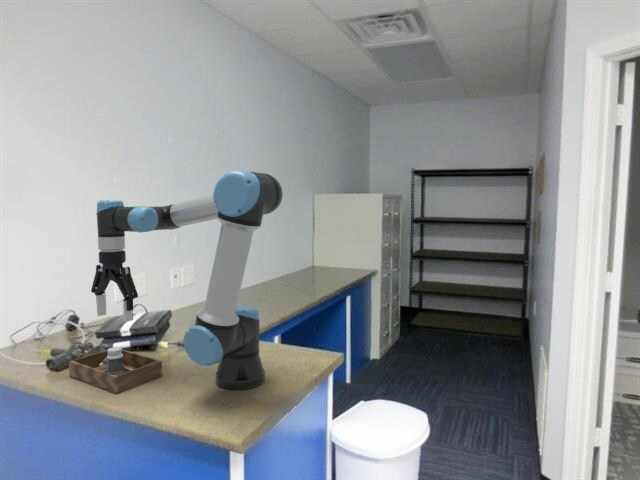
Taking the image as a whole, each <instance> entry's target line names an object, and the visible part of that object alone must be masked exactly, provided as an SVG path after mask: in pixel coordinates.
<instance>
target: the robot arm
mask: <svg viewBox="0 0 640 480" xmlns="http://www.w3.org/2000/svg"><path fill="white" fill-rule="evenodd" d="M283 194H284V193H283V187H282V186H281V183H280V182H279V180H278V179H277V178H275V176H272V175H271V174H268V173H264V172H257V171H249V170H244V169H241V170H240V169H239V170H231V171H228V172H226V173H225V174H223V175H222V176H221V177H220V178H219V179H218V180H217V181H216V183H215V186H214V188H213V194H210V195H205V196H202V197H201V196H200V197H198V198H197V197H196V198H193V199H188V200H186V201H182V202H181V201H180V202H178V203H177V202H176V203H173V204H172V203H171V204H168V205H164V206H163V205H162V206H146V205H145V206H144V205H143V206H141V205H140V206H139V205H138V206H125V205H124V201H123V200H118V199H116V200H114V199H113V200H111V199H109V200H103V199H102V200H99V201H97V204H96V220H97V221H96V223H97V247H98V251H99V252H98V263H99V264H96V265H95V274H94V278H93V282H92V286H91V290H90V292H91V293H92V294H94V295H95V301H96V315H97V317H101V316H105V315H107V297H106V296H107V295H106V290H107V288H108V286H109V284H110V282H111V281H112V282H113V283H115V284H116V285H117V287H118V288H119V291H120V293H121V295H122V296H123V299H122V306H123V307H122V309H123V313H122V315H123V323H127V322H131V321H133V320H134V299H136V298H138V297H139V294H138V292H137V289H136V285H135V283H134V280H133V277H132V273H131V267H130V266H125V267H124V266H123V265H124V264H125V262H126V260H127V257H126V251H125V250H124V249H125V248H126V241H125V240H126V237H125V236H126V234H125V233H126V232H135V233H148V232H153V231H163V230H165V231H166V230H171V231H172V230H176V229H180V228H181V227H184V226H185V227H186V226H190V225H194V224H198V223H199V224H200V223H203V222H207V221H213V220H218V221H219V222H220V224H221V226H220V230H219V235H218V239H217V245H216V249H215V254H214V259H213V263H212V268H211V275H210V280H209V283H208V288H207V294H206V298H205V301H204V306H203V307H202V308H199V309H198V311H197V313H196V318H195V322H194V325H191V326H190V327H189V328H188V329H187V330H186V331H185V333H184V336H183V341H182V342H183V343H182V344H183V348H184V351H185V353H187V356H188V357H189V360H191V361H192V362H193V363H195V364H196V365H199V366H201V367H210V366H213V365H216V364H218V366H217V370H216V372H215V384H216V385H217V386H218V387H220V388H222V389H227V390H234V389H239V390H245V389H244V388H248V389H250V388H249V387H252V388H254V387H253V386H256V385H258V386H260V385H261V384H260V383H262V382H263V381H264V382H265V380H266V371H265V369H264V367H263V363H262V360H261V356H260V320H261V319H260V312H259V310H258V309H257V308H255V307H252V306H245V305H244V306H243V305H238V302H239V298H240V293H241V289H242V284H243V279H244V275H245V270H246V267H247V262H248V257H249V254H250V248H251V244H252V240H253V235H254V231H256V230H257V229H258V228H259V229H260V227H261V226H262V223H263V222H262V221H263V218H264V217H263V216H264V215H268V214H272V213H273V212H274V211H276V210H277V209H278V208H279V207H280V205H281V203H282V200H283ZM264 379H265V380H264ZM264 382H263V383H264ZM263 383H262V384H263ZM259 384H260V385H259ZM256 387H257V386H256Z"/></svg>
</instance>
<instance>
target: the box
mask: <svg viewBox="0 0 640 480" xmlns="http://www.w3.org/2000/svg"><path fill="white" fill-rule="evenodd" d="M121 349H122V348H121ZM122 354H123V363H124V373H123V374H120V375H117V376H116V375H113V374H110V373H107V366H99V364H100V363H101V362H102V361H103V360H104V359H105V357H107V356H108V349H105V350H102V351H99V352H95V353H91V354H89V355H84V356H82V357H78V358H75V359H71V360H69V361H68V369H69V370H68V373H69V374H68V375H69V377H70V378H72V379H74V380H78V381H79V382H82V383H85V384H88V385H90V386H94V387H96V388H99V389H102V390H105V391H106V392H109V393H112V394H114V395H118V394H120V393H123V392H125V391H128V390H131V389H134V388H135V387H138V386H141V385H143V384H146V383H148V382H150V381H153V380H156V379H158V378H161V377H163V360H161V359H158V358H154V357H150V356H147V355H144V354H140V353H136V352H133V351H130V350H127V349H122Z"/></svg>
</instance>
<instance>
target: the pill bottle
mask: <svg viewBox="0 0 640 480" xmlns="http://www.w3.org/2000/svg"><path fill="white" fill-rule="evenodd" d="M107 350H108V356H107V373H110V374H113V375H116V376H117V375H120V374H123V373H124V363H123V354H122V347H121V346H114V347H110V348H108V349H107Z"/></svg>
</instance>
